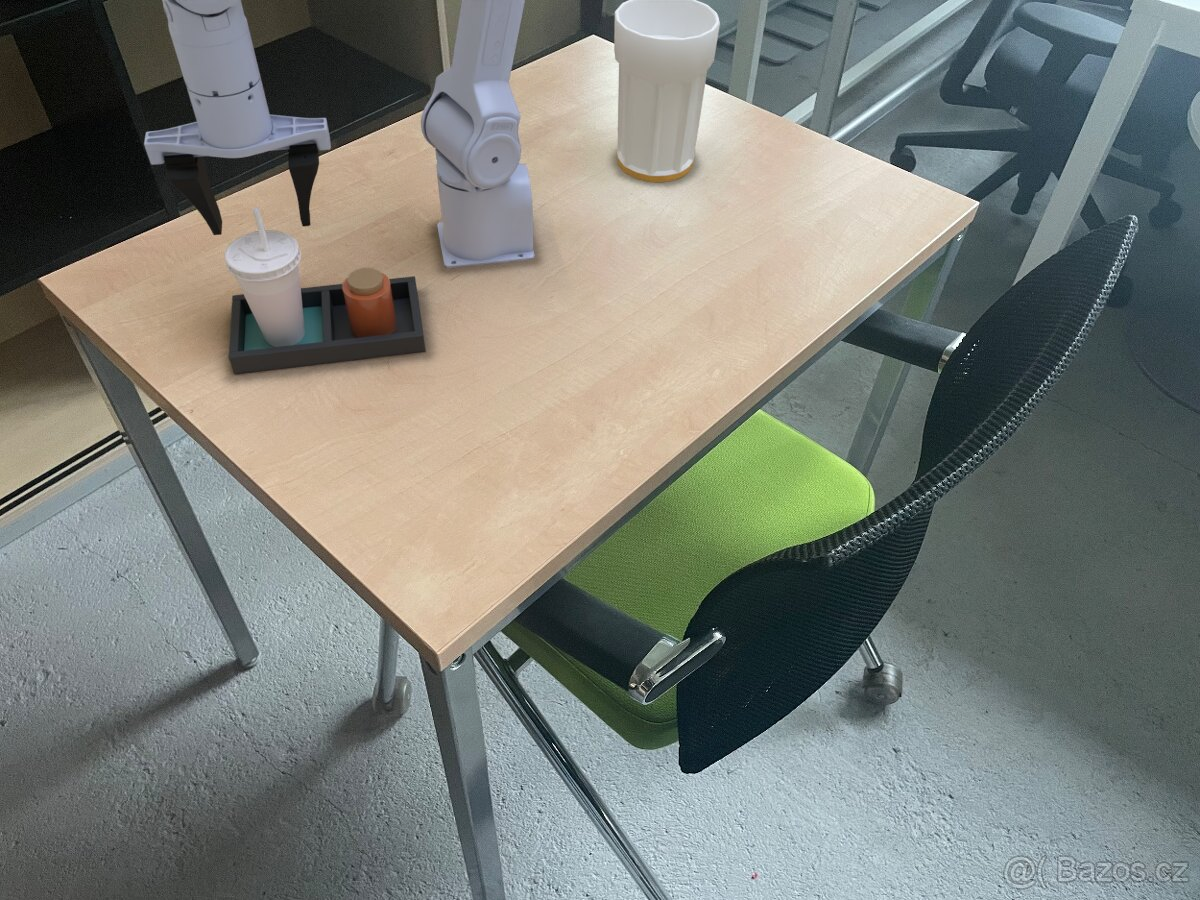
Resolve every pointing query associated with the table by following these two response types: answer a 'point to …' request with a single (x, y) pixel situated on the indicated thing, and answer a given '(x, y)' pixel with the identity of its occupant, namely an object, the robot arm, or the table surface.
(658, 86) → the cup
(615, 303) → the table surface
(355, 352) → the holder
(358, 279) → the spice pot
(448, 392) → the table surface
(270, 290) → the smoothie
